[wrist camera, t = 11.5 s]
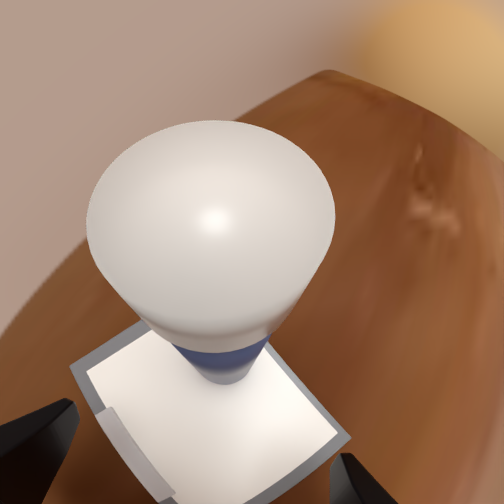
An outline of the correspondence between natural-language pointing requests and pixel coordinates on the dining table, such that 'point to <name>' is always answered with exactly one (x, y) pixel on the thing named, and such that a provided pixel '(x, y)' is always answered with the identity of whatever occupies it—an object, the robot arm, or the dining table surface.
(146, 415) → the clipboard
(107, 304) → the dining table surface
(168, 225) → the marker
